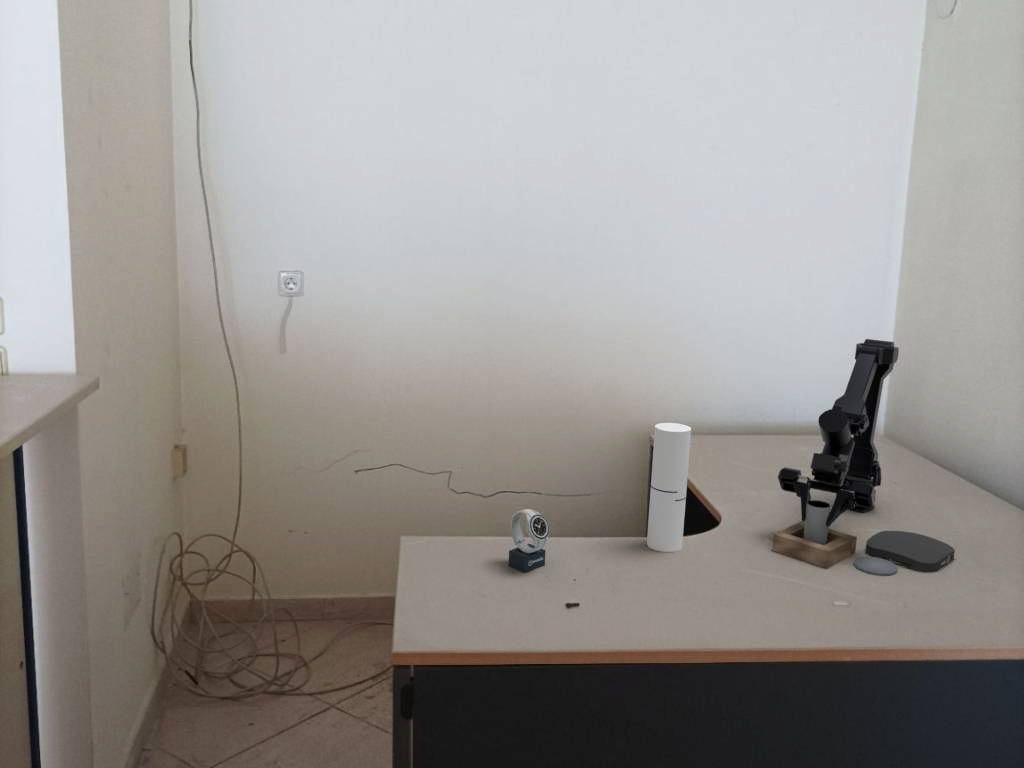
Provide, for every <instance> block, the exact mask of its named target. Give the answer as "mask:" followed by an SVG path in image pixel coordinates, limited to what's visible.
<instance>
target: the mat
mask: <svg viewBox="0 0 1024 768" xmlns="http://www.w3.org/2000/svg"><path fill="white" fill-rule="evenodd" d="M853 566H854V567H855V568H856V569H857V570H859V571H861V572H864V573H866V574H870V575H874V576H883V577H884V576H894V575H896V574H897V573H898V565H896V564H894V563H892V562H890V561H888V560H885V559H882V558H877V557H872V556H870V555H868V556H866V555H865V556H864V555H863V556H858V557H856V558H854V560H853Z"/></svg>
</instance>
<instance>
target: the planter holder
mask: <svg viewBox="0 0 1024 768" xmlns="http://www.w3.org/2000/svg"><path fill="white" fill-rule="evenodd" d="M804 527H805V521H802V520H801V521H799V522H797V523H795V524H792V525H791V526H788V527H787V528H783V529H781V530H779V531H777V532H775V533H774V534H773V537H772V539H773V540H772V549H771V550H772V551H773V550H775V551H774V552H776V551H778V552H777V553H779V552H781V553H780V554H782V553H783V555H785V554H786V555H785V556H788V555H789V557H791V556H792V558H794V557H795V558H794V559H797V558H798V560H800V559H801V560H800V561H804V562H807V563H810V564H813V565H816V566H819V567H821V568H825V569H829V568H830V567H832V566H834V565H836V564H838V563H840V562H841V561H843V560H845V559H847V558H848V557H851V556H853V555H854V554H856V549H857V548H856V547H857V542H858V541H857V539H858V537H857V536H856V535H851V534H849V533H845V532H842V531H839V530H835V529H832V528H829V527H828V534H827V543H826V545H821V544H818V543H815V542H811V541H808V540H805V539H803V537H804Z"/></svg>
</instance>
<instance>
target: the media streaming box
mask: <svg viewBox="0 0 1024 768" xmlns="http://www.w3.org/2000/svg"><path fill="white" fill-rule="evenodd" d="M955 551H956V549H955V548H954V547H953V546H951V545H950V544H948V543H946V542H944V541H942V540H939V539H937V538H934V537H930V536H928V535H923V534H920V533H916V532H909V531H902V530H883V531H879V532H878V533H877V532H876V533H875V534H873V535H871V537H869V538H868V539H867V540H866V543H865V554H867V555H868V556H869V557H877V558H882V559H885V560H888V561H890V562H892V563H894V564H895V565H896V566H899V567H903V568H906V569H909V570H912V571H917V572H921V573H923V572H924V573H935V572H938V571H940V570H942V569H944V568H945V567H946V566H948V565H949V564H951V563H952V562H953V561H954V560H955V559H954V558H955Z"/></svg>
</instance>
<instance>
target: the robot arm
mask: <svg viewBox="0 0 1024 768" xmlns="http://www.w3.org/2000/svg"><path fill="white" fill-rule="evenodd" d="M899 350H900V349H899V347H897V346H895V342H894V341H890V340H889V341H887V340H879V339H878V340H877V339H871V338H865V340H864V341H863V342H859V343H856V345H855V353H854V354H855V355H854V360H855V363H854V366H853V368H852V371H851V375H850V377H849V380H848V383H847V385H846V388H845V390H844V391H845V392H844V393H843V394H842V395H841V396H839V397H837V399H835V401H834V403H833V406H832V408H830V409H828V410H825V411H823V412H822V413H821V414H820V415H819V417H818V420H817V422H818V426H819V430H820V434H821V438H822V439H821V440H822V442H824V445H823V448H822V452H820V453H817V452H813V454H812V458H811V464H810V469H811V472H810V473H811V476H813V478H810V477H809V476H806V475H802V472H801V469H796V468H791V467H783V468H781V469H780V470H779V473H778V475H777V478H778V483H779V485H780V488H781V490H782V491H785V492H787V493H788V492H790V493H794V494H795V495H796V496H797V497H798V498H800V511H801V521H805V518H806V509H807V502H808V501H811V500H812V494H811V489H813V490H817V491H823V492H828V493H832V494H835V499H834V502H833V505H832V506H831V508H830V514H829V516H828V519H827V523H826V526H827V527H828V528H829V527H830V526H831V525H832V524H833V523H834V522H835V521H836V520H837V519H838V518H839V517H840V516H841V515H842V514H843V513H845V512H846V511H847V510H852V511H856V512H860V513H865V512H868V511H869V510H872V509H874V508H875V505H876V504H875V502H876V492H877V491H876V489H875V488H877V487H880V486H882V477H883V475H882V467H881V464H880V461H879V453H878V450H877V448H876V445H875V443H874V438H875V433H876V427H877V421H878V417H879V408H880V403H881V397H882V392H883V387H884V380H886V378H887V377H888V376H889V375H890V374H891V372H892V371H893V370H894V366H895V364H896V363H897V361H898V359H899V352H900V351H899ZM852 436H853V437H852Z"/></svg>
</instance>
